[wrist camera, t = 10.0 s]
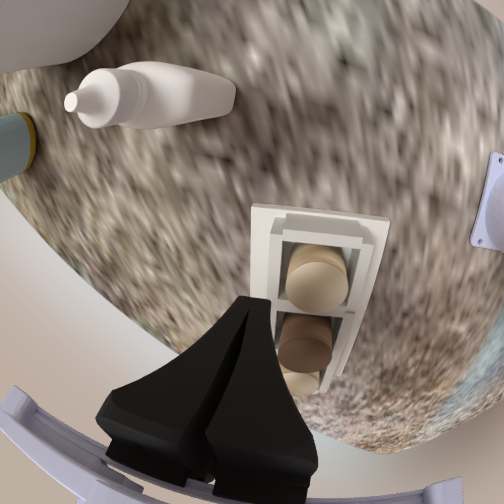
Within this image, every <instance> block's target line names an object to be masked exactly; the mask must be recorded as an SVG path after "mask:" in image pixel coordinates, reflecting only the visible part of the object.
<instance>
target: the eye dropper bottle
mask: <svg viewBox="0 0 504 504" xmlns="http://www.w3.org/2000/svg"><path fill="white" fill-rule="evenodd" d="M235 94H236V86H235V85H234V84H233V83H232V82H231V81H229V80H227V79H225V78H223V77H221V76H219V75H216V74H212V73H209V72H205V71H201V70H197V69H193V68H188V67H184V66H179V65H174V64H169V63H163V62H154V61H144V62H135V63H130V64H127V65H124V66H121V67H119V68H117V69H108V68H102V69H97V70H94V71H92V72H90V74H88V75H87V76H86V77H85V78H84V80H83V81H82V83H81V84H80V86H79V89H78V90H76V91H74V92H71V93H69V94H68V95H67V96H66V98H65V101H64V106H65V109H66V110H67V111H68V112H77V113H78V116H79V118H80V119H81V121H82V122H83V123H84V124H85V125H86V126H88V127H90V128H93V129H94V128H95V129H97V128H98V129H99V128H103V127H107V126H112V125H116V124H117V125H120V126H123V127H127V128H134V129H156V128H163V127H169V126H174V125H179V124H184V123H188V122H193V121H198V120H204V119H209V118H214V117H219V116H224V115H227V114H228V113H230V112H231V111H232V109H233V105H234V99H235Z"/></svg>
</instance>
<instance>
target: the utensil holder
mask: <svg viewBox="0 0 504 504" xmlns="http://www.w3.org/2000/svg"><path fill="white" fill-rule="evenodd" d="M129 1H130V0H0V74H2V73H7V72H12V71H18V70H24V69H30V68H35V67H42V66H50V65H57V64H63V63H67V62H71V61H73V60H75V59H77V58H79V57H81V56H82V55H84V54H86V53H87V52H89V51H90V50H91V49H92V48H94V47H95V46H96V45H97V44H98V43H99V42H100V41H101V40H102V39H103V38H104V37H105V36H106V35H107V33H108V32H109V31H110V30H111V29H112V28H113V26H114V25H115V24H116V22H117V21H118V19H119V18H120V17H121V15H122V13H123V12H124V10H125V9H126V7H127V5H128V3H129Z"/></svg>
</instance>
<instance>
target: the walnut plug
mask: <svg viewBox="0 0 504 504" xmlns="http://www.w3.org/2000/svg"><path fill="white" fill-rule="evenodd" d="M277 357H278V361H279V363H280V364H281V365H282V366H283V367H285V368H286V369H288V370H290V371H293V372H297V373H314V372H317V371H320V370H322V369H324V368H326V367H327V366H328V365H329V364H330V362H331V360H332V329H331V316H320V315H311V314H301V313H292V312H285V314H284V317H283V323H282V330H281V336H280V342H279V348H278V354H277Z"/></svg>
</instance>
